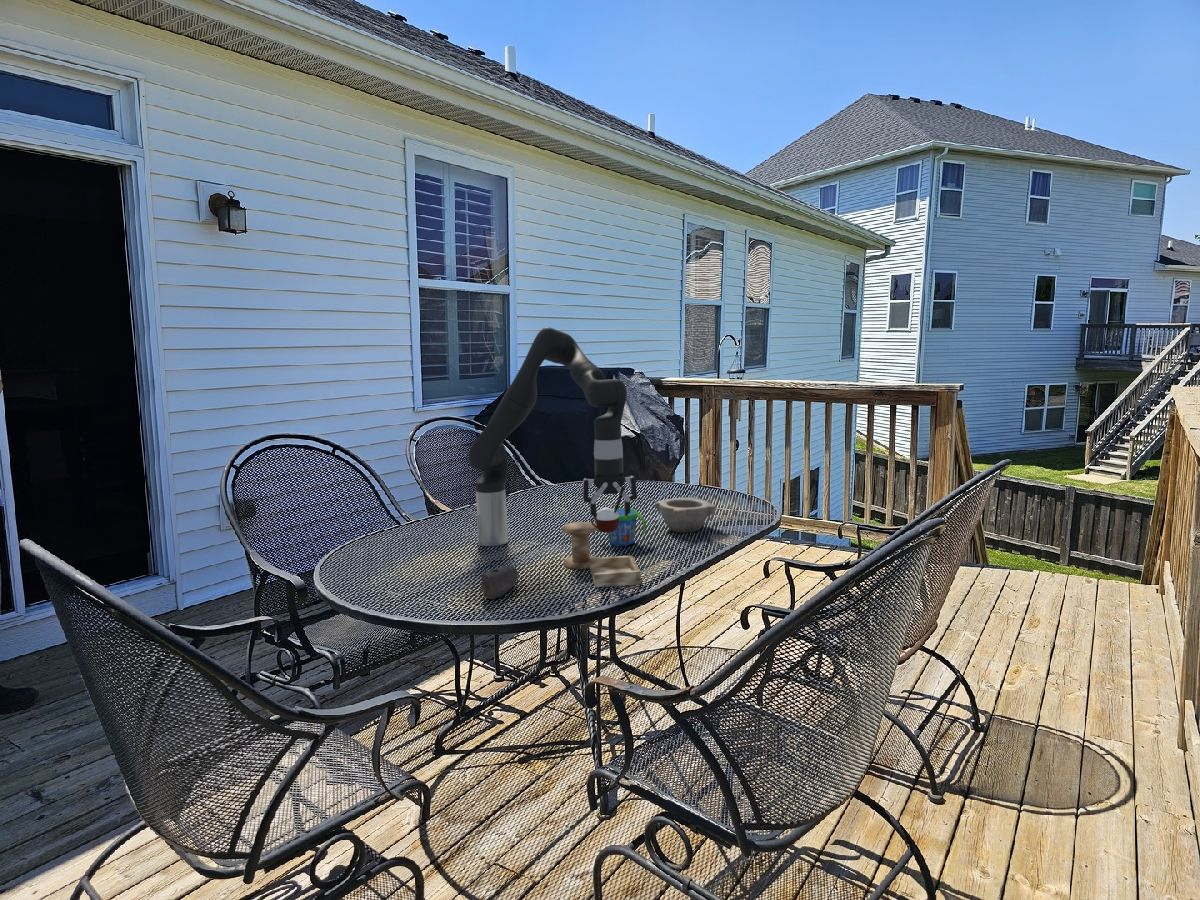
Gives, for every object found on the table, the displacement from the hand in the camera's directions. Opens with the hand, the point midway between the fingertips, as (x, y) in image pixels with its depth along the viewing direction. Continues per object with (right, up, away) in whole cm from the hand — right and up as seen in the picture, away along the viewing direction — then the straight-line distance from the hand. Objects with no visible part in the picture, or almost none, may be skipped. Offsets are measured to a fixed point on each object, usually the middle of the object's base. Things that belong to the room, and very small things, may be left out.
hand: (610, 516), depth 195 cm
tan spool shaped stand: (-8, -15, +14) cm, 22 cm away
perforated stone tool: (-28, -19, -7) cm, 35 cm away
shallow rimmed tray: (+1, -16, +2) cm, 17 cm away
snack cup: (+4, -12, +34) cm, 36 cm away
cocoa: (-1, -4, 0) cm, 4 cm away
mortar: (+26, -9, +48) cm, 55 cm away
